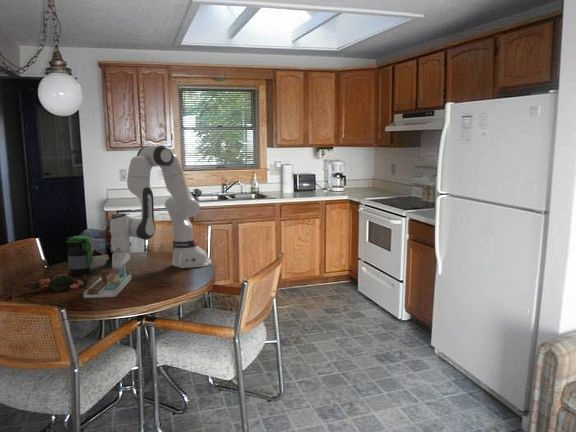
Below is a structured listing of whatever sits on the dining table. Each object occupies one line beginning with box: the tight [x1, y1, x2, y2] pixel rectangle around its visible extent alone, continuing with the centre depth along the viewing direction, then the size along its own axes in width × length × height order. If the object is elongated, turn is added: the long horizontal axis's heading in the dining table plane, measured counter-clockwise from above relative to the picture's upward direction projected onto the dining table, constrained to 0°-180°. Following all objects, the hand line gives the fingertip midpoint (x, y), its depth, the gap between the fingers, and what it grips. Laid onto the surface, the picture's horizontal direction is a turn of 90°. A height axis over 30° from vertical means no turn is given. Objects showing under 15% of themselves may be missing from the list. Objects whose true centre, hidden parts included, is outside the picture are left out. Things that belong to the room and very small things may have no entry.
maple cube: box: [107, 273, 120, 286], centre depth 218 cm, size 4×4×4 cm
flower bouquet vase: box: [104, 212, 120, 268], centre depth 261 cm, size 15×15×30 cm
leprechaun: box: [28, 272, 88, 292], centre depth 220 cm, size 11×10×25 cm
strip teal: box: [107, 266, 128, 290], centre depth 224 cm, size 4×20×6 cm, turn 4°
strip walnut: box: [87, 269, 110, 294], centre depth 218 cm, size 4×20×6 cm, turn 4°
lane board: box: [82, 274, 132, 299], centre depth 222 cm, size 14×28×2 cm, turn 4°
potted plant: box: [65, 235, 94, 276], centre depth 245 cm, size 11×13×20 cm
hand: (122, 272), depth 233 cm, fingers closed on strip teal, 3 cm apart
